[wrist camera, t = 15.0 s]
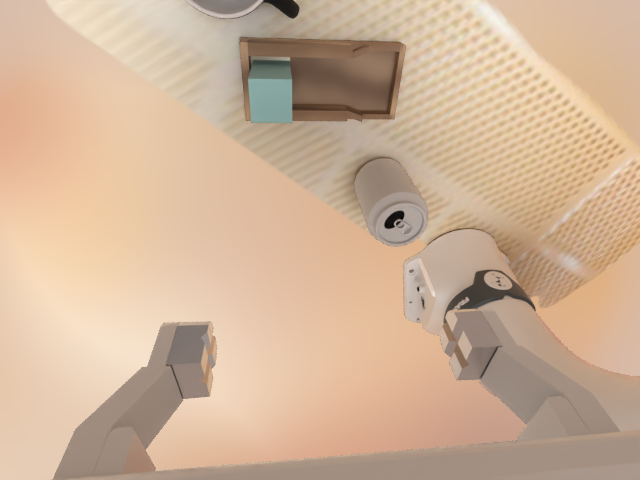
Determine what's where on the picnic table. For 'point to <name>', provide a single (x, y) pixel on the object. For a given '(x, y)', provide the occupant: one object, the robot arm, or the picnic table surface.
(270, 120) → the block
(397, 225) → the can
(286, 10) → the mug
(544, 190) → the picnic table surface
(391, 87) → the brown wooden tray
